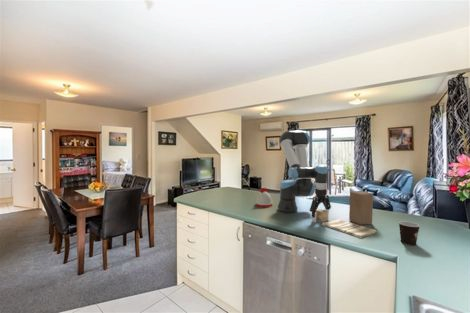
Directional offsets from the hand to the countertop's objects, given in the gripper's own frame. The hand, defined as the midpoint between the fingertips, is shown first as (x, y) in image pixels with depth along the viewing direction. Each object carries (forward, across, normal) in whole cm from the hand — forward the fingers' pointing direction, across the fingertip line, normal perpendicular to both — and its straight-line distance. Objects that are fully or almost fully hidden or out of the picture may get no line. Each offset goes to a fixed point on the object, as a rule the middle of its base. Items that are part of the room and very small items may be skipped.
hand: (320, 220), depth 158 cm
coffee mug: (0, +6, -47) cm, 48 cm away
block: (0, +19, -17) cm, 25 cm away
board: (0, +1, -19) cm, 19 cm away
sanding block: (0, 0, 0) cm, 0 cm away
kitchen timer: (0, -5, +52) cm, 52 cm away
